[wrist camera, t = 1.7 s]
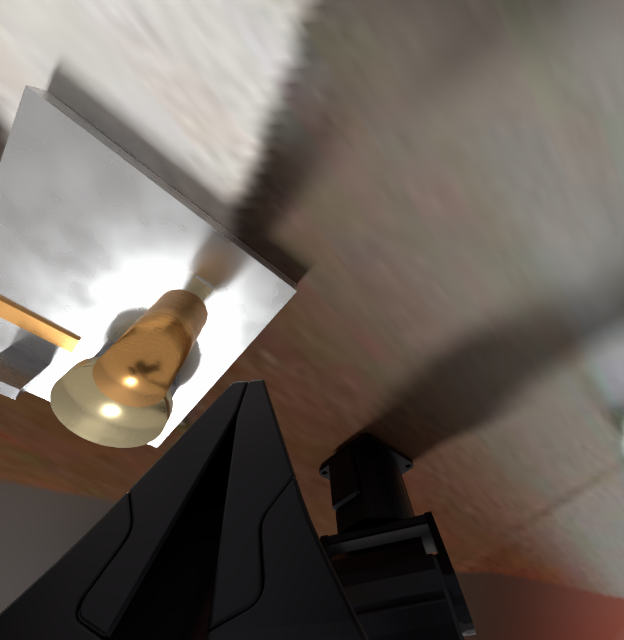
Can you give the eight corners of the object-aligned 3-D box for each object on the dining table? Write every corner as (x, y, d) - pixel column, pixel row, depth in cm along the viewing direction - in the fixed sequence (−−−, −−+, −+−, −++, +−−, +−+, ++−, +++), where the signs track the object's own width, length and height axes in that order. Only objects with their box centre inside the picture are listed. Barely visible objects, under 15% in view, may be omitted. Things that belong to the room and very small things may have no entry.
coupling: (145, 445, 21) (97, 536, 16) (49, 403, 19) (-43, 493, 14) (247, 326, 16) (225, 401, 11) (137, 254, 14) (50, 306, 9)
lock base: (297, 283, 19) (296, 309, 16) (163, 435, 25) (143, 475, 22) (46, 90, 14) (-29, 70, 11) (-44, 342, 20) (-108, 376, 17)
